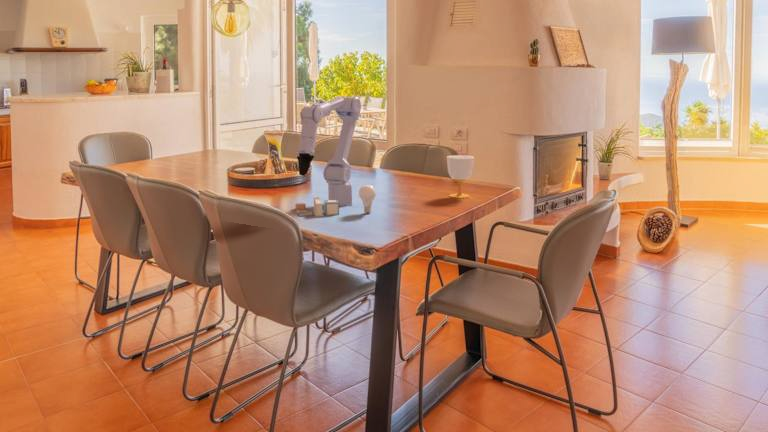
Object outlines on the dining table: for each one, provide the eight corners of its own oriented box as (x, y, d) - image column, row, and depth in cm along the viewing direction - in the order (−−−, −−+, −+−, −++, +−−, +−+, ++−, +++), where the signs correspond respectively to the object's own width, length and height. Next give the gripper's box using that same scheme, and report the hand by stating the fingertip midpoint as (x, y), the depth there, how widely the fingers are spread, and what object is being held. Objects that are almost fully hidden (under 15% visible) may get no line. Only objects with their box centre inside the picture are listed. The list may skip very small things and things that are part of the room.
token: (305, 207, 251) (305, 203, 250) (306, 210, 247) (306, 205, 246) (295, 208, 250) (295, 203, 250) (295, 210, 246) (295, 205, 246)
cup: (443, 193, 280) (444, 155, 276) (469, 193, 282) (470, 155, 278) (448, 199, 269) (449, 159, 265) (476, 198, 270) (477, 158, 266)
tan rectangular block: (320, 210, 248) (320, 197, 247) (323, 216, 237) (323, 203, 236) (312, 210, 248) (312, 197, 247) (315, 216, 237) (315, 203, 236)
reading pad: (311, 213, 243) (311, 211, 243) (312, 216, 237) (312, 215, 237) (298, 213, 242) (298, 212, 242) (299, 217, 236) (299, 215, 236)
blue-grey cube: (337, 212, 245) (337, 199, 243) (339, 215, 240) (338, 202, 239) (324, 213, 244) (324, 200, 242) (326, 216, 239) (325, 202, 238)
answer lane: (305, 207, 252) (305, 207, 252) (307, 213, 243) (307, 212, 243) (294, 208, 251) (294, 207, 251) (296, 213, 242) (296, 213, 242)
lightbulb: (362, 215, 238) (362, 187, 236) (356, 212, 244) (356, 184, 242) (378, 214, 241) (378, 185, 238) (372, 211, 246) (371, 183, 244)
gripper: (295, 138, 242) (291, 174, 242) (298, 134, 228) (293, 171, 228) (314, 141, 244) (309, 176, 243) (318, 137, 230) (313, 174, 229)
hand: (302, 174), depth 236 cm, fingers open, 7 cm apart
